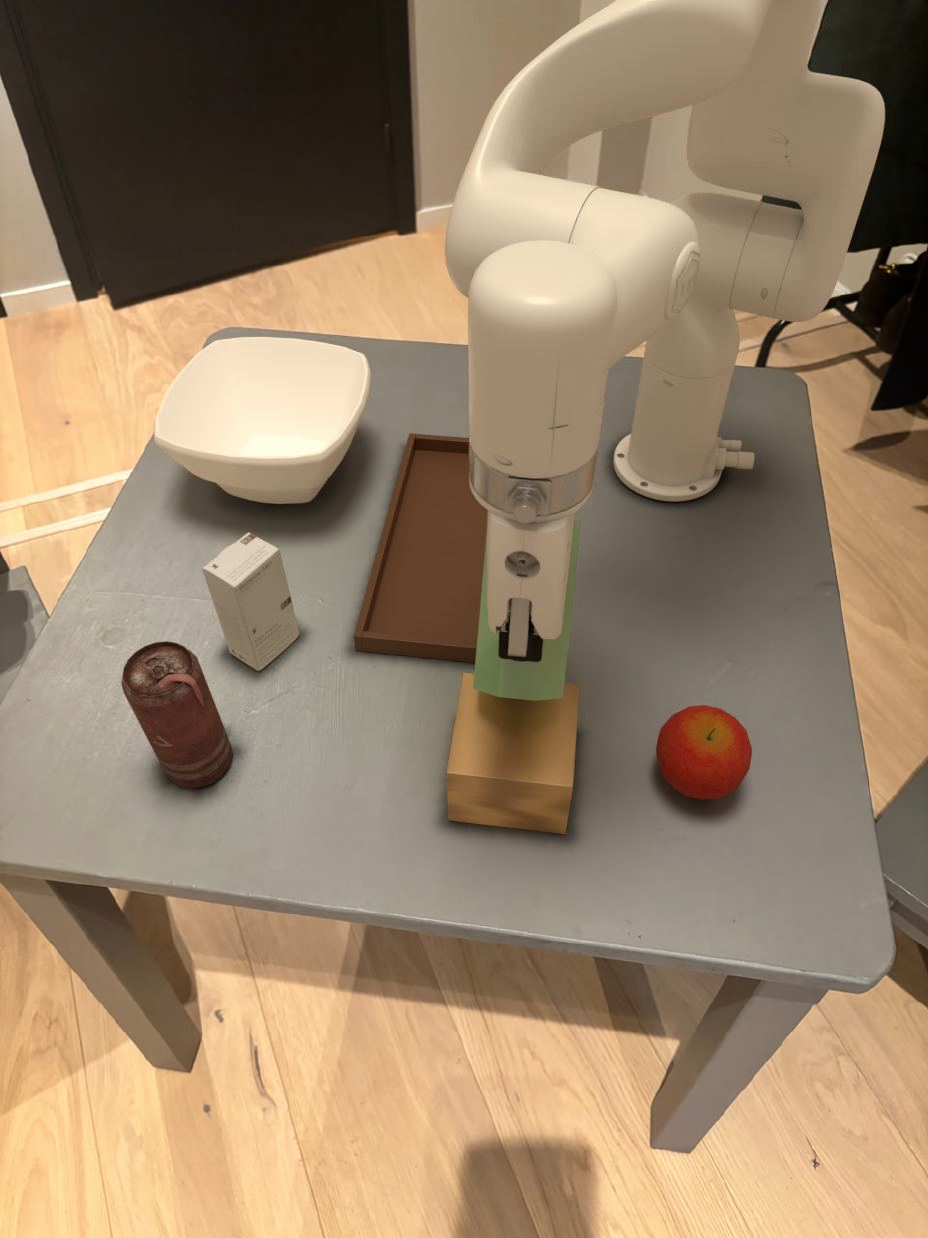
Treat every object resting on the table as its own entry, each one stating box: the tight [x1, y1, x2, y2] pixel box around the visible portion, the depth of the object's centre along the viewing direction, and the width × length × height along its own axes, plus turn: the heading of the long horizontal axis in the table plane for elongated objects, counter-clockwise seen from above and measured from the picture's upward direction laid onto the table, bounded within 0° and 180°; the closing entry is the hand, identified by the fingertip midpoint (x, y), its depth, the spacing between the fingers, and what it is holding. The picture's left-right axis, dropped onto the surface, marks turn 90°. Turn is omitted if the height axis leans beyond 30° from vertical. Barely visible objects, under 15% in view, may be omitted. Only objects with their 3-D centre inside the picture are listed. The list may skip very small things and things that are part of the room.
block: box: [445, 672, 580, 835], centre depth 77 cm, size 10×10×8 cm
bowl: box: [153, 336, 372, 505], centre depth 102 cm, size 22×22×12 cm
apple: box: [655, 704, 753, 800], centre depth 76 cm, size 8×8×8 cm
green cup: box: [473, 519, 582, 701], centre depth 72 cm, size 7×7×14 cm
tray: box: [353, 433, 488, 663], centre depth 97 cm, size 18×32×2 cm, turn 172°
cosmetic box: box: [201, 532, 300, 672], centre depth 85 cm, size 6×4×12 cm
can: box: [121, 640, 233, 789], centre depth 76 cm, size 6×6×14 cm
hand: (520, 651), depth 67 cm, fingers closed
